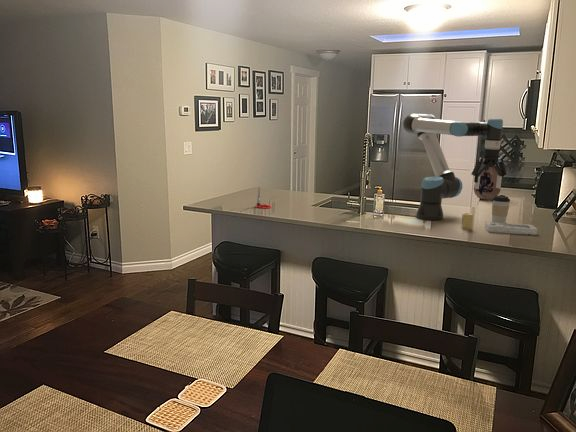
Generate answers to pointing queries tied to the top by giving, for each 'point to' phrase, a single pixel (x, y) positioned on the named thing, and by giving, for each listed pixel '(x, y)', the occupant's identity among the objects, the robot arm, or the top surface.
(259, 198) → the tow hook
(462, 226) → the yellow rectangular block
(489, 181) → the ceramic pitcher
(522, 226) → the grey tray
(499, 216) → the coffee cup
